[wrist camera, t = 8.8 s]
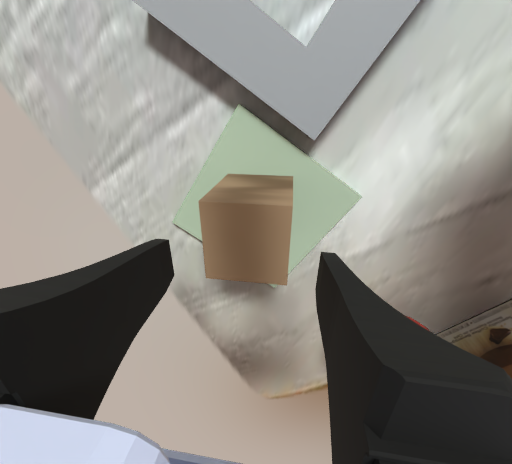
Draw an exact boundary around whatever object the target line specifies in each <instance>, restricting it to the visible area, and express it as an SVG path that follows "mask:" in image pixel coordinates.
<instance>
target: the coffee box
mask: <svg viewBox="0 0 512 464" xmlns="http://www.w3.org/2000/svg"><path fill="white" fill-rule="evenodd" d="M437 336H439V337H440V338H442V339H444V340H446V341H448V342H450V343H451V344H453V345H455V346H457V347H459V348H461V349H463V350H465V351H467V352H469V353H471V354H473V355H475V356H478V357H480V358H482V359H484V360H486V361H488V362H490V363H492V364H494V365H496V366H498V367H500V368H503V369H504V370H505V371H506V373H507V374H508V375H509V376H510V377H511V379H512V300H510V301H508V302H506V303H504V304H502V305H500V306H497V307H495V308H493V309H491V310H489V311H487V312H484V313H482V314H480V315H478V316H476V317H474V318H471V319H469V320H467V321H465V322H463V323H461V324H458V325H456V326H454V327H452V328H450V329H448V330H445V331H443V332H441V333H439V334H437Z"/></svg>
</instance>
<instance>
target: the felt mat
mask: <svg viewBox="0 0 512 464" xmlns="http://www.w3.org/2000/svg"><path fill="white" fill-rule="evenodd" d="M227 174H250V175H277V176H293V212H292V225H291V238H290V251H289V265H288V274H289V273H290V272H291V271H292V269H293V268H294V267H295V266H296V265H297V264H298V263H299V262H300V261H301V260H302V259H303V258H304V257H305V256H306V255H307V254H308V253H309V252H310V251H311V250H312V249H313V248H314V246H315V245H316V244H317V243H318V242H319V241H320V240H321V239H322V238H323V237H324V236H325V235H326V234H327V233H328V232H329V231H330V230H331V229H332V228H333V227H334V226H335V225H336V223H337V222H338V221H339V220H340V219H341V218H342V217H343V216H344V215H345V214H346V213H347V212H348V211H349V210H350V209H351V208H352V207H353V206H354V205H355V204H356V203H357V202H358V200H359V199H360V198H361V197H362V196H361V195H360V194H358V193H357V192H356V191H354V190H353V189H352V188H350V187H349V186H348V185H346V184H345V183H344V182H342V181H341V180H340V179H338V178H337V177H336V176H334V175H333V174H332V173H330V172H329V171H328V170H327V169H325V168H324V167H323V166H321V165H320V164H319V163H317V162H316V161H315V160H313V159H312V158H311V157H309V156H308V155H307V154H305V153H304V152H303V151H301V150H300V149H299V148H297V147H296V146H295V145H293V144H292V143H291V142H289V141H288V140H287V139H286V138H284V137H283V136H282V135H280V134H279V133H278V132H276V131H275V130H274V129H272V128H271V127H270V126H268V125H267V124H266V123H264V122H263V121H262V120H260V119H259V118H258V117H256V116H255V115H254V114H252V113H251V112H250V111H248V110H247V109H246V108H245V107H243V106H242V105H241V104H238V106H237V108H236V109H235V111H234V113H233V115H232V116H231V118H230V120H229V122H228V124H227V125H226V127H225V129H224V131H223V132H222V134H221V136H220V138H219V140H218V141H217V143H216V145H215V147H214V148H213V150H212V152H211V154H210V156H209V157H208V159H207V161H206V163H205V165H204V166H203V168H202V170H201V172H200V173H199V175H198V177H197V179H196V181H195V182H194V184H193V186H192V188H191V189H190V191H189V193H188V195H187V197H186V198H185V200H184V202H183V204H182V206H181V207H180V209H179V211H178V213H177V214H176V216H175V218H174V220H173V223H174V224H176V225H177V226H179V227H180V228H182V229H184V230H185V231H187V232H188V233H190V234H191V235H193V236H194V237H196V238H197V239H199V240H201V241H202V233H201V223H200V213H199V203H198V201H199V200H200V199H201V198H202V197H204V196H205V195H206V194H207V193H208V192H209V191H210V190H211V189H212V188H213V187H214V186H215V185H216V184H217V183H219V182H220V181H221V180H222V179H223V178H224V177H225V176H226V175H227ZM269 285H271V286H272V287H274V288H275V287H276V286H277V284H269Z"/></svg>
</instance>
